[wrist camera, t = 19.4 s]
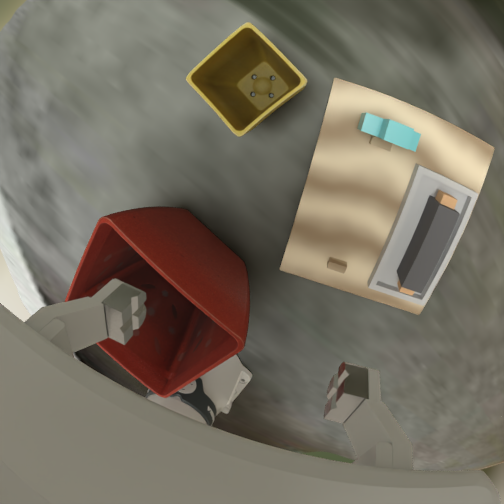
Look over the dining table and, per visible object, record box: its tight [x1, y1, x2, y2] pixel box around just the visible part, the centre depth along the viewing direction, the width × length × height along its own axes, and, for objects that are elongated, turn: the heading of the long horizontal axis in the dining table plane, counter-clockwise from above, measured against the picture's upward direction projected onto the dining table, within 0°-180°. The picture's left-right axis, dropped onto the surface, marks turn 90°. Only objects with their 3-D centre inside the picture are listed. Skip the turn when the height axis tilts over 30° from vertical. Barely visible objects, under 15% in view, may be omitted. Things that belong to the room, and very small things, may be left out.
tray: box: [367, 164, 478, 306], centre depth 34 cm, size 17×9×2 cm, turn 167°
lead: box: [397, 190, 460, 296], centre depth 32 cm, size 13×3×4 cm, turn 168°
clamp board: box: [279, 78, 495, 315], centre depth 34 cm, size 26×22×3 cm
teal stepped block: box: [357, 112, 421, 152], centre depth 26 cm, size 2×6×8 cm, turn 78°
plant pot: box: [65, 207, 250, 398], centre depth 39 cm, size 19×19×17 cm
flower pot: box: [186, 22, 307, 137], centre depth 29 cm, size 9×9×9 cm
